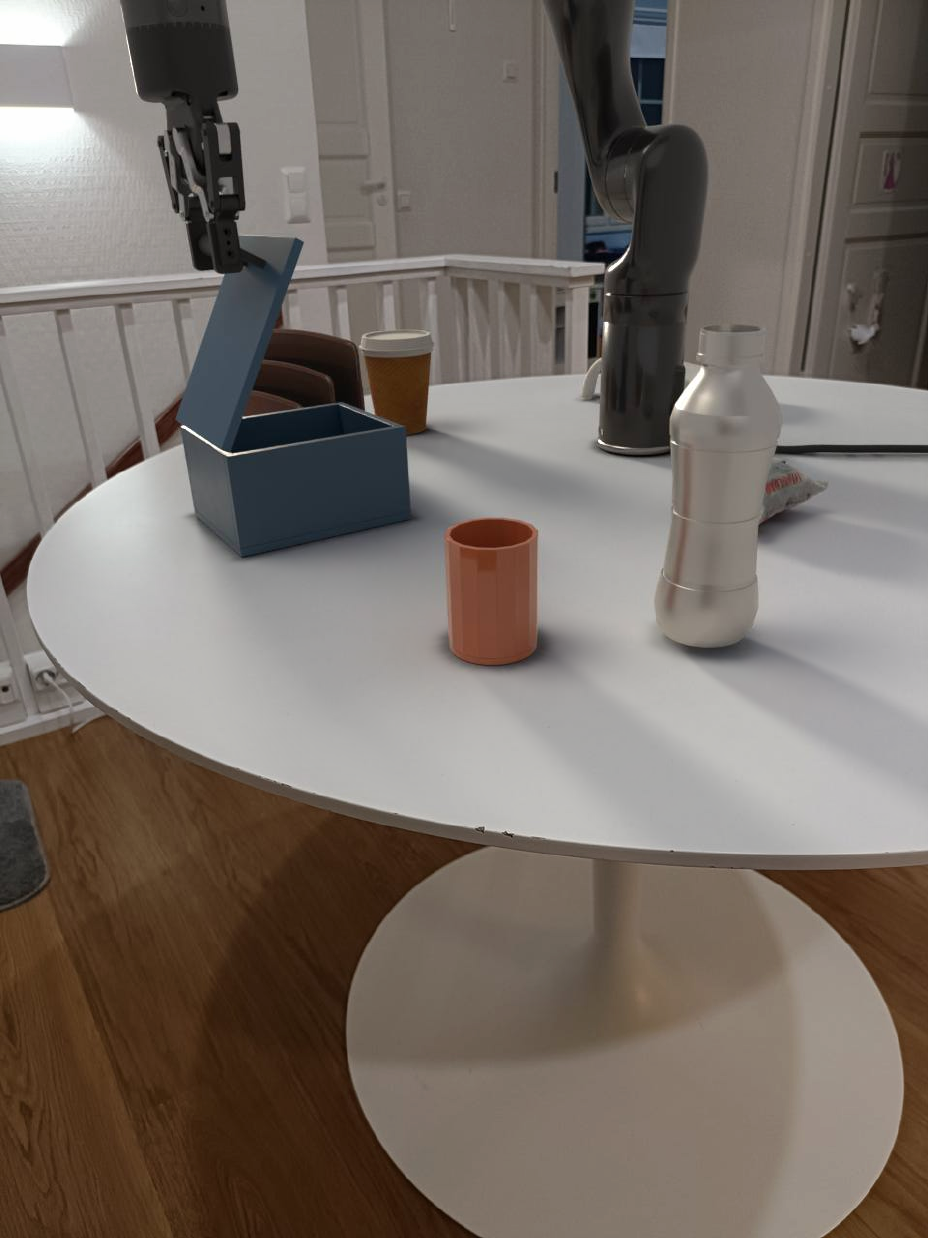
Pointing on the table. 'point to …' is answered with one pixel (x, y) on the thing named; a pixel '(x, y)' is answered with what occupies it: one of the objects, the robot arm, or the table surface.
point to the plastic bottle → (718, 490)
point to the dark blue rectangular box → (300, 477)
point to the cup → (492, 590)
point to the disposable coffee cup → (399, 375)
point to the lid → (237, 337)
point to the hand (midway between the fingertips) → (217, 270)
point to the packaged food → (787, 489)
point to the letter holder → (306, 373)
